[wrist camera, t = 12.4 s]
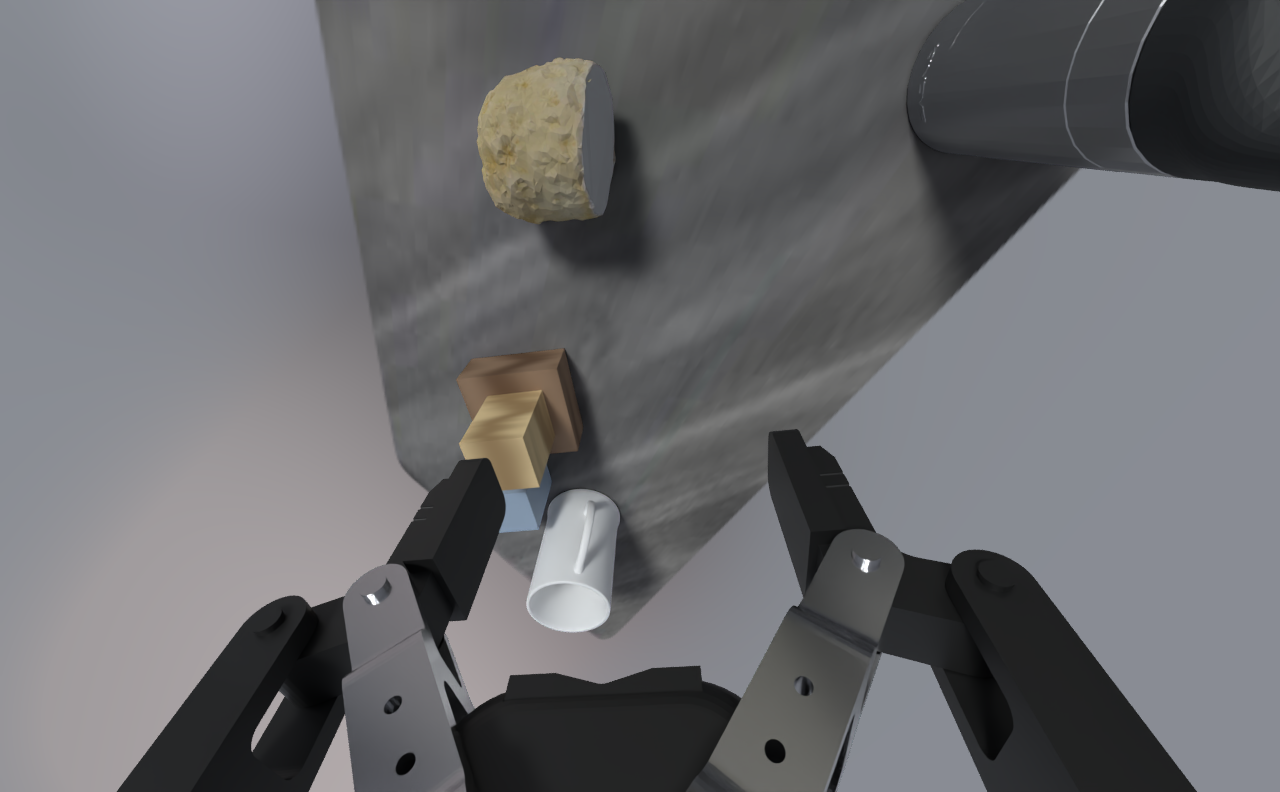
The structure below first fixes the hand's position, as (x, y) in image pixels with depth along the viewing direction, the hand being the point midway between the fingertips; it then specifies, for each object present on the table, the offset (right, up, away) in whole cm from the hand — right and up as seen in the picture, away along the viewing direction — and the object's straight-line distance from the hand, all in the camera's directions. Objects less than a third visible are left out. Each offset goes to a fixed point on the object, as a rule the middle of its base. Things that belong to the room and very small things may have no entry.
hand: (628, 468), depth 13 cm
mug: (-6, -11, +40) cm, 42 cm away
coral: (-5, +21, +21) cm, 30 cm away
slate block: (-12, -6, +37) cm, 39 cm away
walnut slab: (-11, +2, +32) cm, 34 cm away
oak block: (-10, 0, +28) cm, 30 cm away
